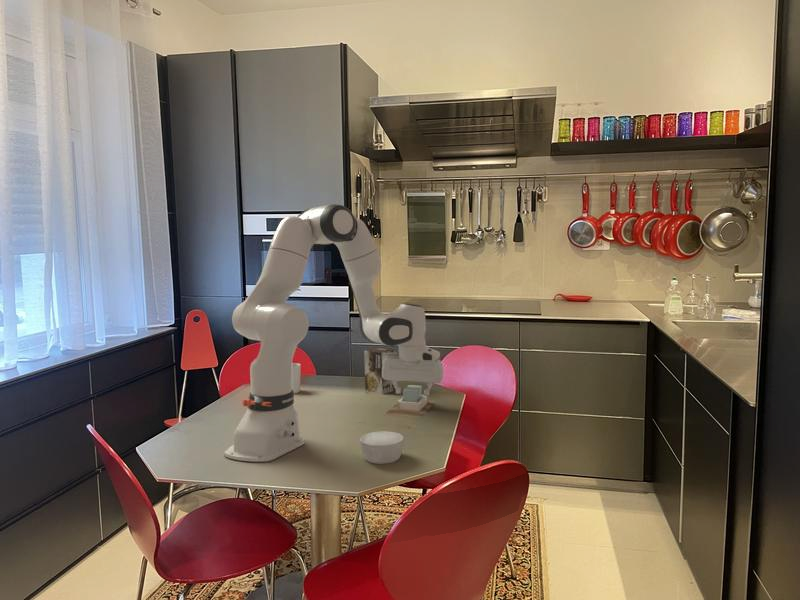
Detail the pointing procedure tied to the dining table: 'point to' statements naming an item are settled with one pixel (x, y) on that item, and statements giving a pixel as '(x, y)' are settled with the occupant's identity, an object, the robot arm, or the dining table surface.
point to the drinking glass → (296, 377)
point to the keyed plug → (412, 393)
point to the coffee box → (376, 372)
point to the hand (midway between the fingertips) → (412, 394)
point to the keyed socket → (412, 404)
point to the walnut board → (409, 411)
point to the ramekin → (381, 447)
